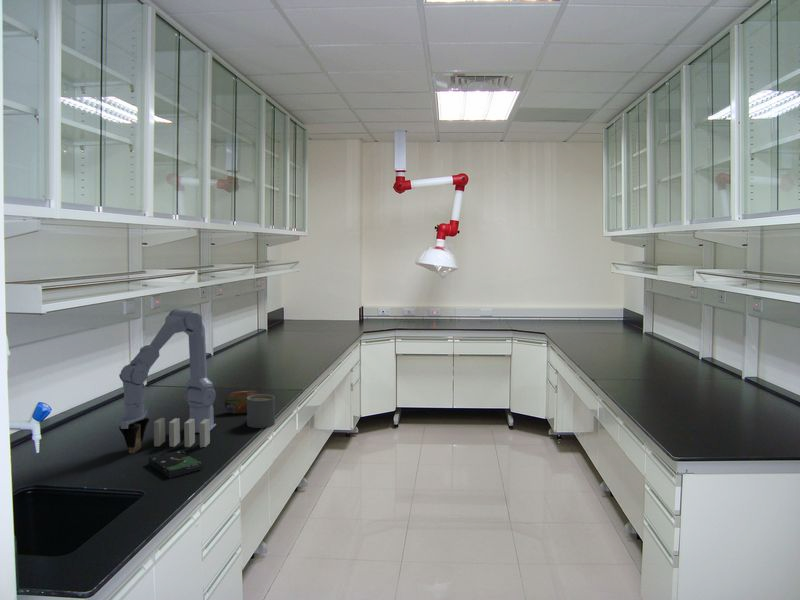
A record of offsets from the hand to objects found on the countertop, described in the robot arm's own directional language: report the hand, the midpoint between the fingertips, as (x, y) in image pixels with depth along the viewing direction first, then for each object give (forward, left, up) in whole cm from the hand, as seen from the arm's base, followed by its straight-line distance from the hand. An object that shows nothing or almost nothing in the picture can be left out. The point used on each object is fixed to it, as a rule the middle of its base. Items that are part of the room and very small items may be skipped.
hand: (135, 444), depth 194 cm
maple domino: (0, 0, -2) cm, 2 cm away
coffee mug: (-33, +32, -2) cm, 46 cm away
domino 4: (-7, +20, -2) cm, 21 cm away
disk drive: (+13, +18, -3) cm, 22 cm away
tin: (-47, +22, -2) cm, 52 cm away
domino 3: (-7, +15, -2) cm, 17 cm away
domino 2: (-7, +10, -2) cm, 12 cm away
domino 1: (-7, +5, -2) cm, 9 cm away
